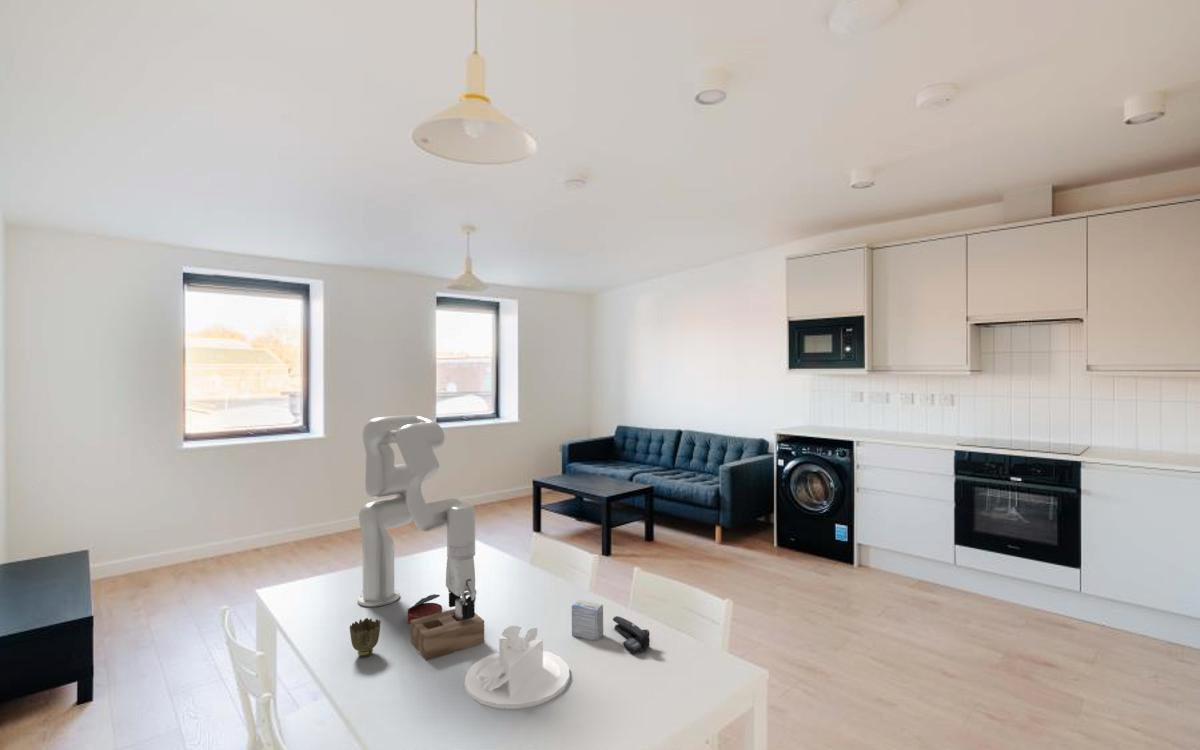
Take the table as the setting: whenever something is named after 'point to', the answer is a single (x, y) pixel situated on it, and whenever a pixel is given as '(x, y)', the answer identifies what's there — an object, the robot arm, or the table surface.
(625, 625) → the can opener
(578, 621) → the medicine box
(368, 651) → the cup
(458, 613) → the pin
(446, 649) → the hole block
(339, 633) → the table surface
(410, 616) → the canned food
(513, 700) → the dish
